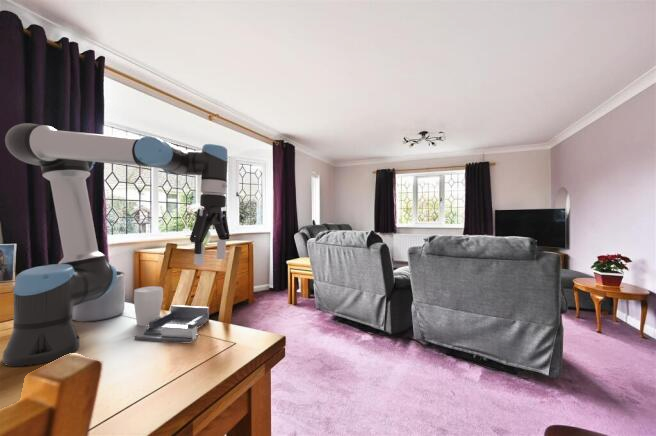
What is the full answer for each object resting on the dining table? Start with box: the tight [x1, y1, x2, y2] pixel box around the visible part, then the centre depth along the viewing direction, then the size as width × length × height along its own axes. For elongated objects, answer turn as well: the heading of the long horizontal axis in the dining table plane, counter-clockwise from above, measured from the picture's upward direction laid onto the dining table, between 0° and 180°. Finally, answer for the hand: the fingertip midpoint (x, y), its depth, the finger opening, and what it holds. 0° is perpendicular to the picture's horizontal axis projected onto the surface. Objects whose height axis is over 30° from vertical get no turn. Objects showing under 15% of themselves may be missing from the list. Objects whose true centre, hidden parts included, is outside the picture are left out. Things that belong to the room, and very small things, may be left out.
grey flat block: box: [161, 322, 198, 342], centre depth 93 cm, size 10×2×5 cm, turn 84°
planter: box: [72, 270, 126, 323], centre depth 112 cm, size 16×16×16 cm
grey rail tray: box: [145, 304, 210, 332], centre depth 103 cm, size 14×14×5 cm
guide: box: [134, 330, 200, 343], centre depth 93 cm, size 18×5×1 cm, turn 84°
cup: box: [133, 285, 164, 327], centre depth 106 cm, size 9×9×12 cm
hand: (210, 261), depth 94 cm, fingers open, 13 cm apart
